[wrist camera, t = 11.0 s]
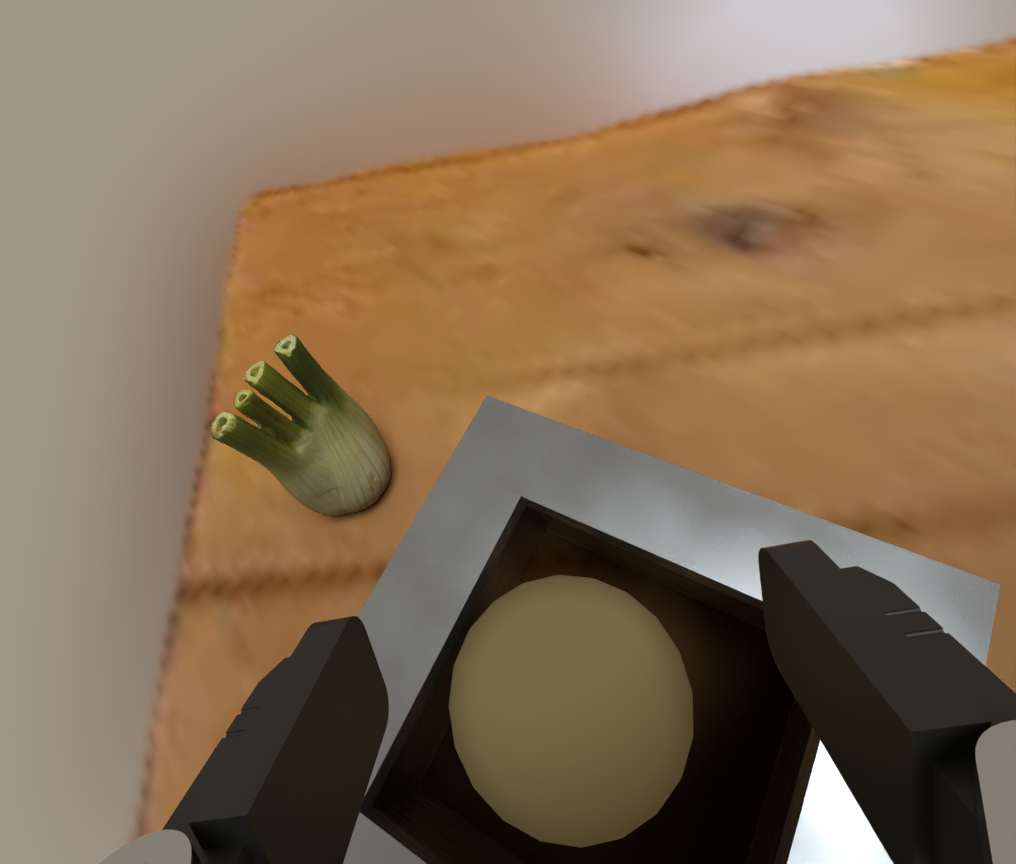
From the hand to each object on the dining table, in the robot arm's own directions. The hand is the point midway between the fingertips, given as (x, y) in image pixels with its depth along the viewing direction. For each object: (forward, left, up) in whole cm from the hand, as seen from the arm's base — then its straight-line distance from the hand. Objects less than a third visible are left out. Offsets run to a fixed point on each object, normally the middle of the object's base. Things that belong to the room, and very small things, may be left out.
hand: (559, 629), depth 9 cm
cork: (+1, -1, -13) cm, 13 cm away
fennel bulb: (-4, -18, -21) cm, 28 cm away
